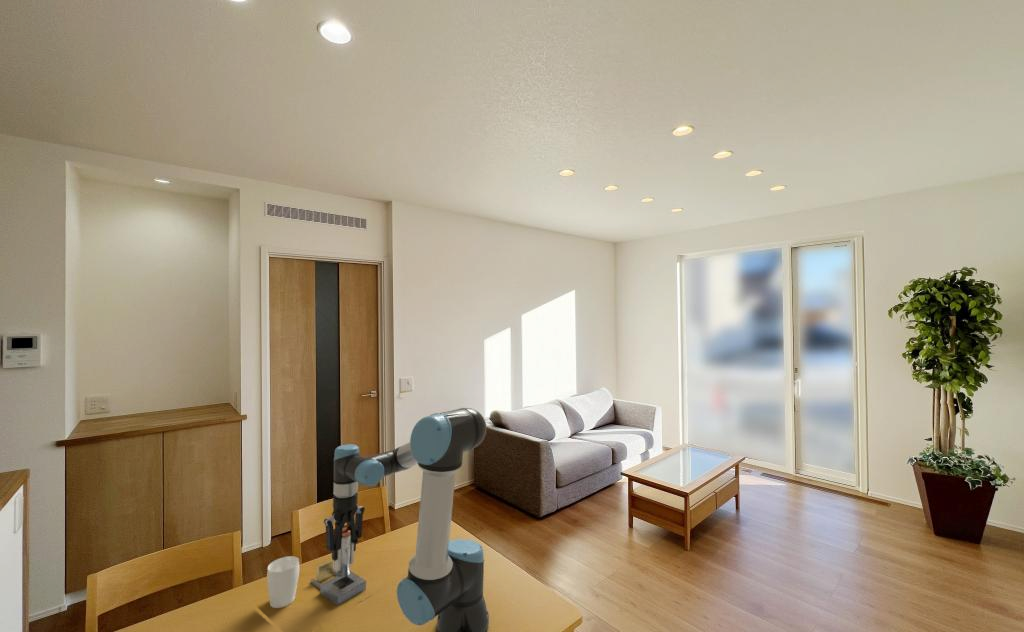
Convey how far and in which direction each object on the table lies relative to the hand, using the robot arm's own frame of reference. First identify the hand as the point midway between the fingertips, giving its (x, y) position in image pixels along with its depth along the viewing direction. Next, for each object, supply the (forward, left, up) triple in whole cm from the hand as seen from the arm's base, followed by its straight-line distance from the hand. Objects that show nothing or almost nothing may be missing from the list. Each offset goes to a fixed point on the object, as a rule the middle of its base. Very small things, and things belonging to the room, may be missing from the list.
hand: (343, 565), depth 133 cm
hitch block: (+4, -1, -9) cm, 10 cm away
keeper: (+11, 0, -8) cm, 14 cm away
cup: (+11, +14, -9) cm, 20 cm away
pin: (0, 0, -3) cm, 3 cm away
